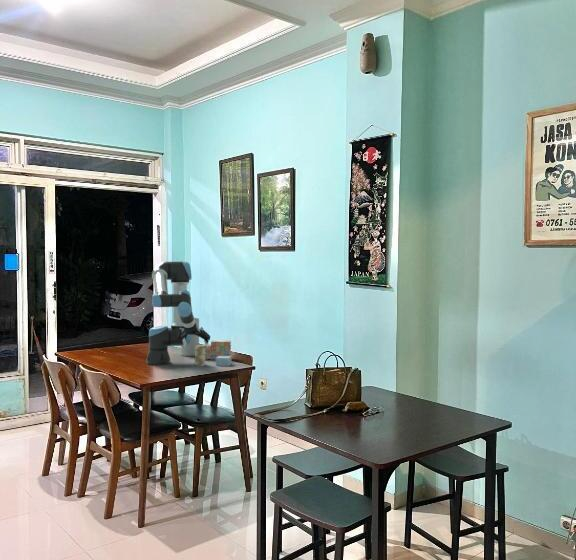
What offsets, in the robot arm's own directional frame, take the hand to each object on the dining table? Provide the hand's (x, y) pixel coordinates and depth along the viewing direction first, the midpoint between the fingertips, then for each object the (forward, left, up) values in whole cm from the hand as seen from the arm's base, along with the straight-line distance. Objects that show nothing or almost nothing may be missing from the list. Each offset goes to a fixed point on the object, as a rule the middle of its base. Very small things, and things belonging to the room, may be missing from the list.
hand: (196, 345), depth 353 cm
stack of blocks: (+3, +32, -14) cm, 35 cm away
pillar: (0, +9, -14) cm, 17 cm away
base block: (+14, +13, -14) cm, 24 cm away
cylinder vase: (-17, +45, -14) cm, 50 cm away
